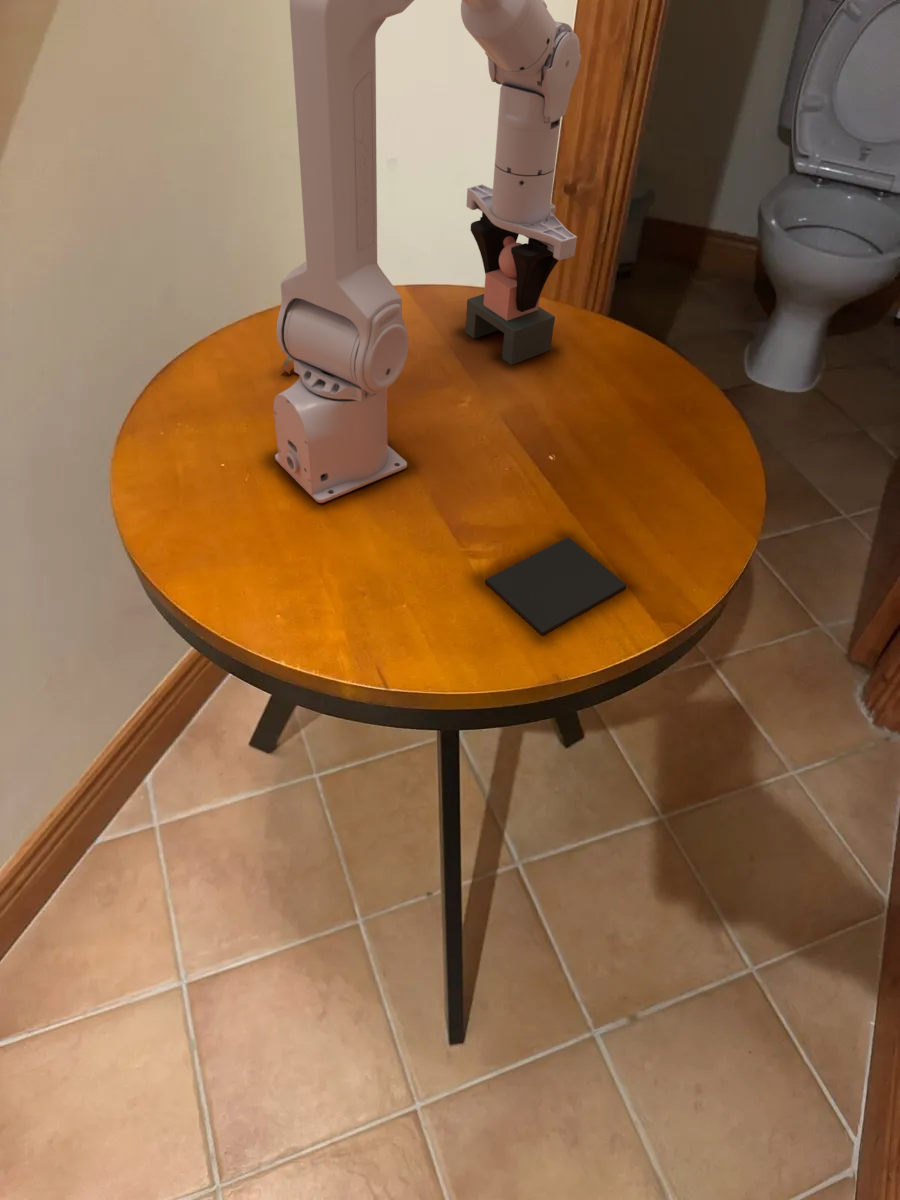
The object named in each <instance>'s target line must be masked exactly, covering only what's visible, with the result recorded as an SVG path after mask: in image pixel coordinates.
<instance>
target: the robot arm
mask: <svg viewBox="0 0 900 1200" xmlns="http://www.w3.org/2000/svg"><path fill="white" fill-rule="evenodd" d="M414 1H415V0H289V20H290V33H291V35H290V36H291V49H292V64H293V81H294V97H295V110H296V127H297V140H298V141H297V142H298V155H299V173H300V185H301V186H300V187H301V200H302V201H301V202H302V203H301V204H302V217H303V231H304V246H305V261H304V262H303V263H302V264H300V265H298V266H296V267H295V268H294V269H293V270H291V271H290V272H289V273H288V274H287V275H286V276H285V277H284V278H283V279H282V280H281V282H280V294H281V301H280V309H279V312H278V316H277V320H276V321H277V322H276V332H275V333H276V341H277V344H278V347H279V349H280V350H281V352H282V353H283V354H284V355H285V356H286V357H287V358H288V357H290V358H293V360H294V369H293V371H294V373H296V374H298V376H299V375H300V376H299V377H298V378H297V380H296V381H295V382H294V383H293V384H292V385H290V386H289V387H288V388H286V389H285V390H283V391H280V392H279V393H277V394H276V395H275V397H274V398H273V403H272V404H273V406H272V409H273V418H274V428H275V436H276V437H275V438H276V445H277V453H276V454H275V455H274V459H275V461H276V462H277V463H278V464H279V465H280V466H281V468H283V469H284V470H285V471H286V472H287V473H288V474H289V475H290V476H291V477H292V478H293V479H294V480H295V481H296V482H297V483H298V484H299V485H300V486H301V487H302V488H303V490H305V492H307V493H308V495H310V497H312V498H313V500H315V502H317V503H318V504H323V503H326V502H328V501H331V500H333V499H336V498H338V497H340V496H344V495H345V494H347V493H350V492H352V491H354V490H357V489H360V488H362V487H365V486H366V485H369V484H371V483H374V482H376V481H379V480H381V479H383V478H385V477H388V476H391V475H393V474H395V473H398V472H400V471H402V470H405V469H407V467H408V462H407V461H406V459H404V458H403V457H402V456H401V455H400V454H399V453H398V452H396V451H395V450H394V449H393V448H392V447H390V445H388V444H389V443H388V388H389V387H390V386H391V385H393V384H394V383H395V382H396V381H397V380H398V378H399V377H400V374H401V373H402V371H403V370H404V367H405V365H406V363H407V359H408V355H409V348H410V341H409V333H408V328H407V326H406V324H405V321H404V319H403V310H402V309H403V308H402V307H403V299H402V296H401V295H400V293H399V291H398V290H397V288H396V287H395V286H394V285H393V283H392V282H391V281H390V280H389V278H388V277H387V275H386V273H384V272H383V270H382V269H381V267H380V266H379V263H378V190H377V189H378V187H377V186H378V185H377V184H378V180H377V179H378V178H377V174H378V173H377V171H378V170H377V169H378V168H377V69H376V67H377V66H376V64H377V61H376V60H377V58H376V53H377V52H376V49H377V48H376V46H377V45H376V44H377V43H376V37H377V33H378V31H379V29H380V28H381V27H382V25H383V24H384V22H385V21H386V19H387V18H390V17H393V16H396V15H398V14H401V13H403V12H405V11H406V9H407V8H409V7H410V5H411V4H412V3H413V2H414ZM460 17H461V20H462V24H463V26H464V27H465V29H466V30H467V32H468V33H469V34H470V35H471V37H472V38H473V39H474V40H475V41H476V42H477V44H478V45H479V46H480V47H481V48H482V50H483V51H484V54H485V55H486V57H487V64H488V65H487V66H488V73H489V78H490V81H491V82H492V83H496V85H499V86H500V89H499V100H498V115H497V129H496V143H495V154H494V155H495V157H494V168H493V183H492V187H489V186H487V185H484V184H483V183H482V184H477V185H473V186H470V187H467V190H466V191H467V192H466V208H468V209H470V210H472V211H475V210H478V211H480V212H481V217H479V220H475V221H472V222H471V224H470V232H471V234H472V237H473V238H474V240H475V243H476V244H477V247H478V250H479V254H480V256H481V257H480V258H481V261H482V264H483V269H484V275H486V273H488V272H491V271H495V270H498V269H500V266H499V256H500V253H501V251H502V250H503V248H504V244H503V241H504V239H505V238H506V237H508V236H511V237H513V238H514V240H515V243H517V241H518V238H519V235H521V236H524V237H526V239H528V240H527V242H525V243H521V245H518V246H515V247H512V248H511V253H512V256H513V259H514V263H515V267H516V276H517V291H516V305H517V310H519V311H520V312H524V311H527V310H530V309H533V308H535V307H536V304H537V302H538V299H539V297H540V298H541V294H542V291H543V289H544V287H545V284H546V283H547V280H548V278H549V277H550V275H551V273H552V271H553V270H554V268H555V266H556V265H557V264H558V262H559V261H563V260H566V259H569V258H573V257H575V255H576V248H577V241H578V235H575V234H574V233H572V232H571V231H570V230H569V229H567V228H566V226H564V224H563V223H562V222H561V221H560V220H559V219H558V218H557V216H556V215H555V211H556V205H555V204H554V203H552V195H553V194H552V193H553V185H554V178H555V177H554V176H555V171H556V170H555V169H556V162H557V161H556V160H557V155H558V144H559V135H560V127H561V120H562V117H564V116H565V115H566V114H567V109H568V108H569V106H570V105H569V104H570V97H571V93H572V88H573V86H574V84H575V81H576V79H577V77H578V73H579V69H580V66H581V61H582V54H581V44H580V39H579V36H578V35H577V34H576V33H575V32H574V31H573V28H572V27H571V26H570V24H568V23H565V22H561V21H557V20H555V19H554V17H553V16H552V14H551V13H550V11H549V10H548V5H547V3H546V2H545V0H461V3H460Z"/></svg>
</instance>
